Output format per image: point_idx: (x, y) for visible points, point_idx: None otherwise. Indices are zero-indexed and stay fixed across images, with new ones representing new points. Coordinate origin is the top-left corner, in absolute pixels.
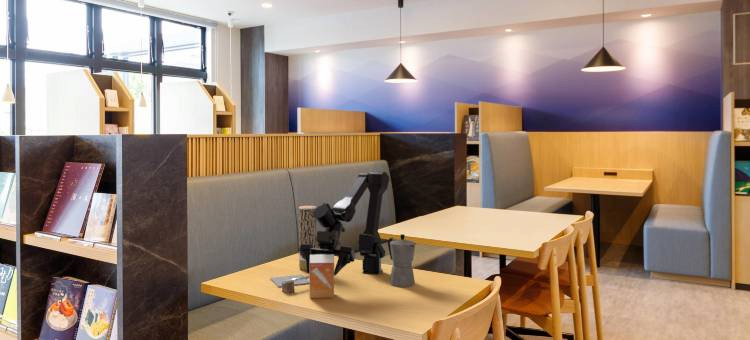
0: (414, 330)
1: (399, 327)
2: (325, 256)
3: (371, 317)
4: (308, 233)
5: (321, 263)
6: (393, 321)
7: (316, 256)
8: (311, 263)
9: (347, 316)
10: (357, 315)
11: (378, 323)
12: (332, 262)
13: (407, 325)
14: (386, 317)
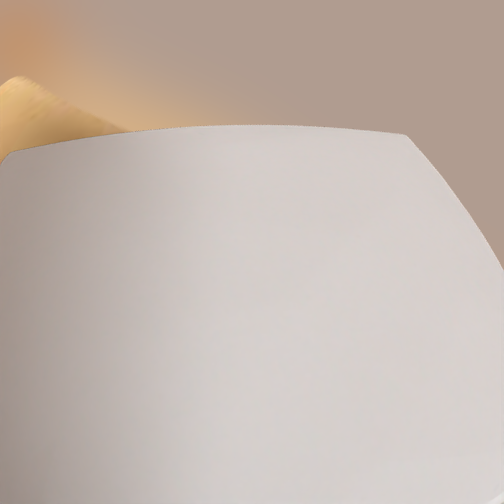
0: (13, 83)
1: (27, 88)
2: (56, 402)
3: (50, 128)
4: None
5: (209, 132)
6: (17, 113)
7: (410, 393)
8: (381, 137)
9: (118, 128)
10: (83, 137)
11: (55, 97)
12: (25, 151)
13: (7, 100)
14: (15, 133)
